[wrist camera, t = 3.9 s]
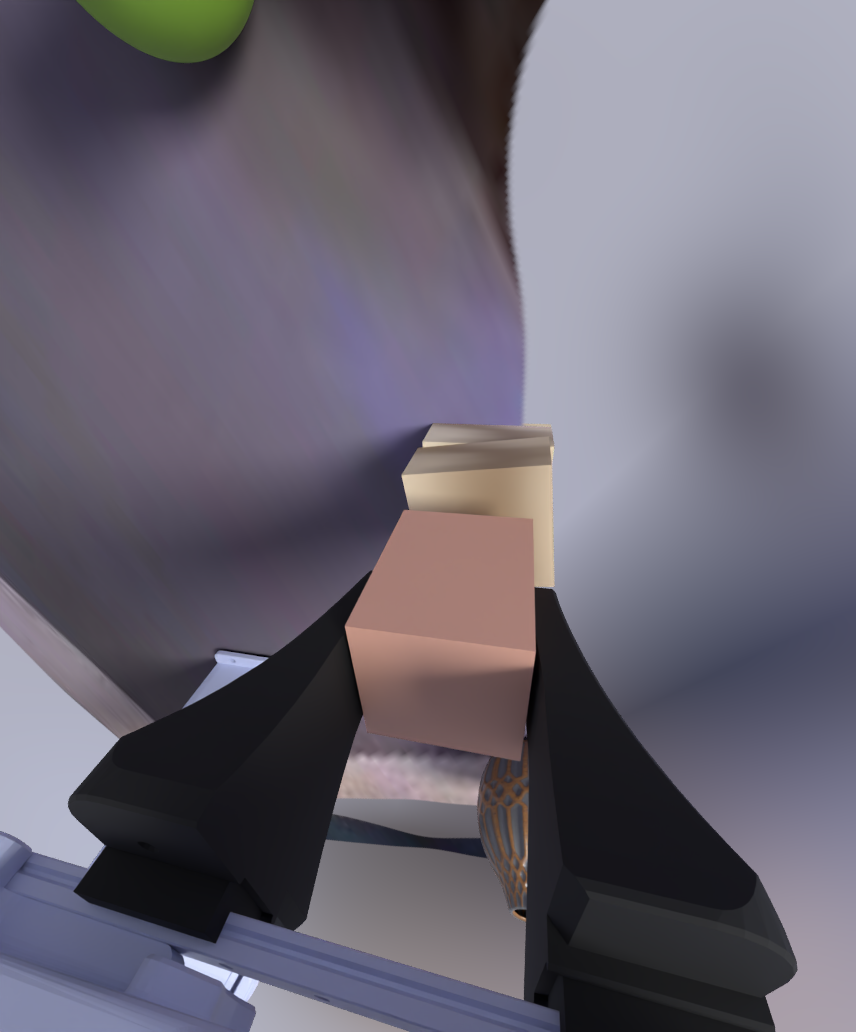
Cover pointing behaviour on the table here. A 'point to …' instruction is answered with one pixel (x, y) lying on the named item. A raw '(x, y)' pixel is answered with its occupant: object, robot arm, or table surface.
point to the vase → (507, 825)
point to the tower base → (484, 433)
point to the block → (449, 633)
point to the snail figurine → (173, 25)
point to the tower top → (490, 487)
